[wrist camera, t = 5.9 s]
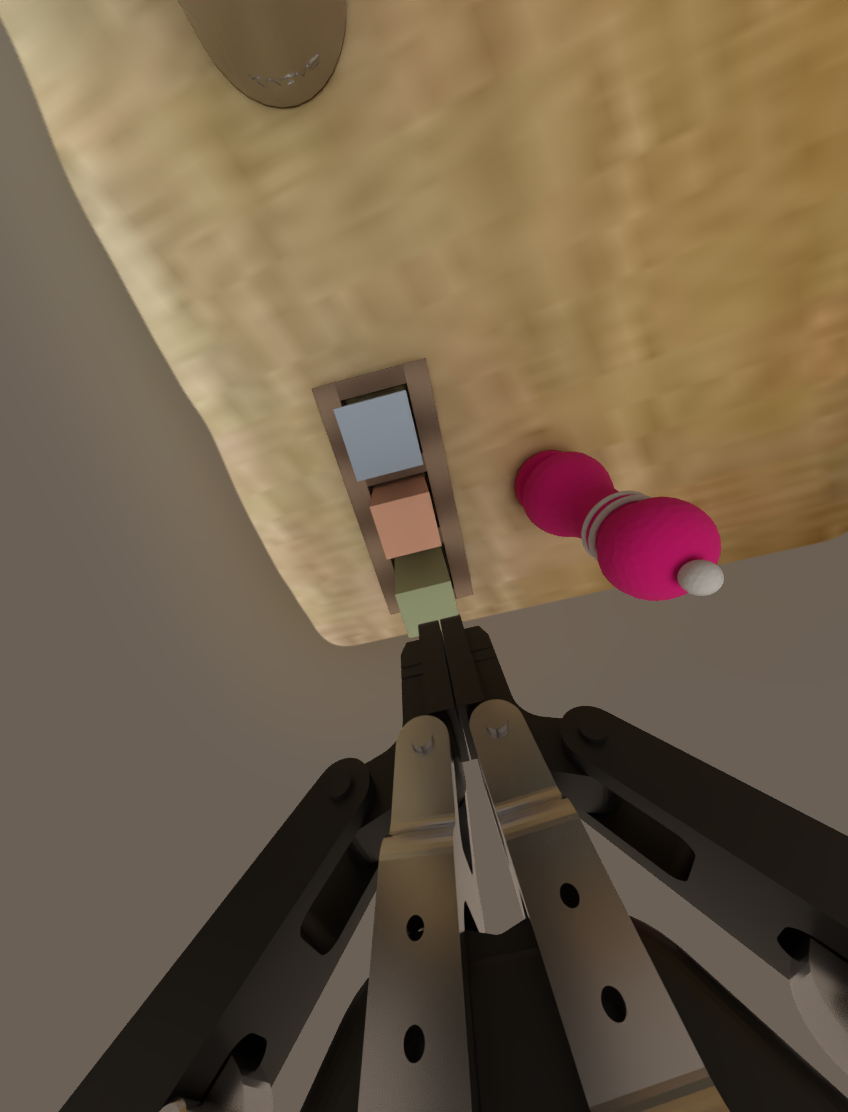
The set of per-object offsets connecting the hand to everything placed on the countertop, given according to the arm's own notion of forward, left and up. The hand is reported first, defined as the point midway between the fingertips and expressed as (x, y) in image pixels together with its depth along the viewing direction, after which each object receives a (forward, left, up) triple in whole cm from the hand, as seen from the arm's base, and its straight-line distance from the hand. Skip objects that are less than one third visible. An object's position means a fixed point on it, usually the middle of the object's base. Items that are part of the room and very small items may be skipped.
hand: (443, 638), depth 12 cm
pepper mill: (+4, +13, -23) cm, 27 cm away
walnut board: (+2, -1, -23) cm, 23 cm away
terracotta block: (+2, -1, -22) cm, 22 cm away
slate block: (-5, -1, -21) cm, 21 cm away
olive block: (+9, -1, -21) cm, 22 cm away
